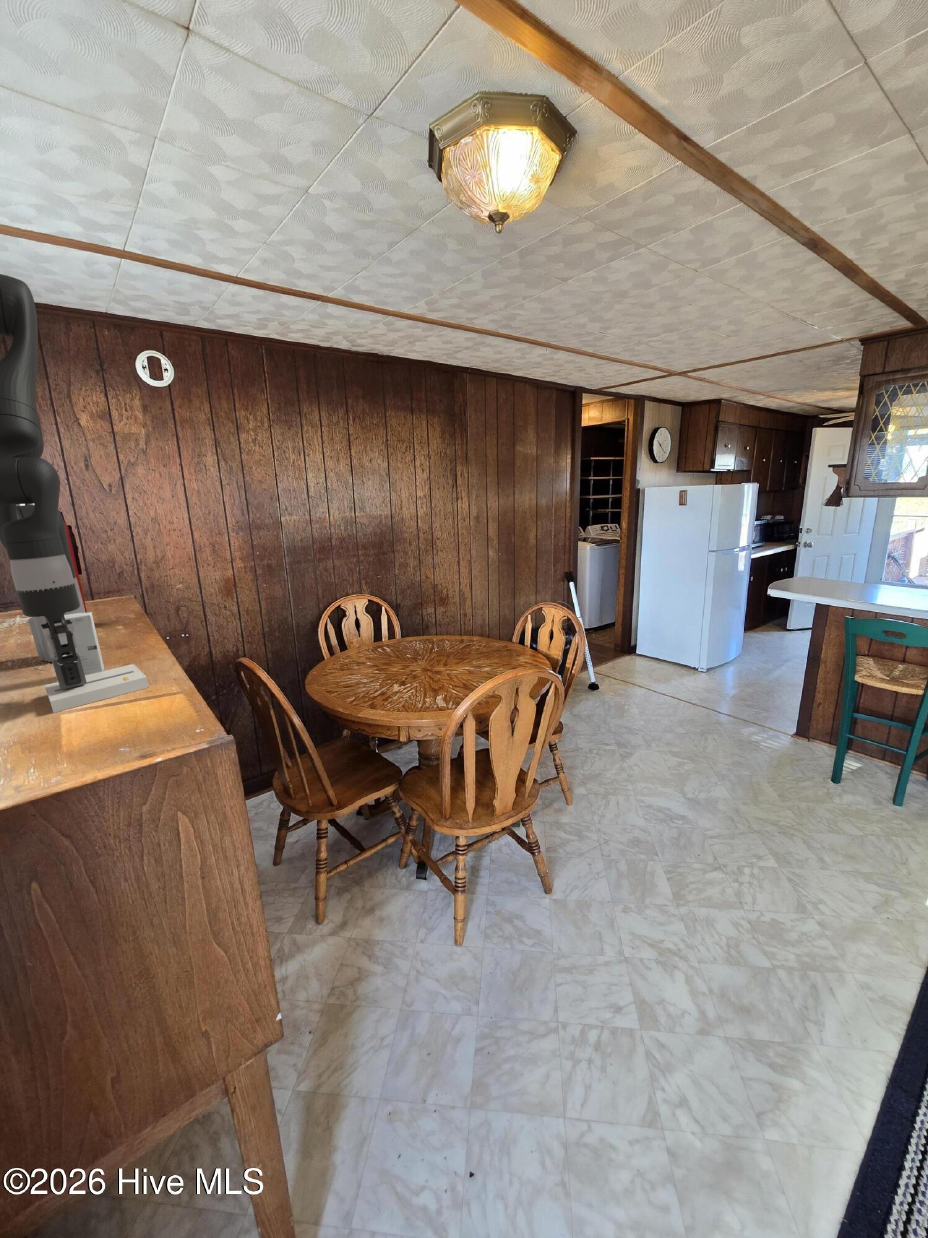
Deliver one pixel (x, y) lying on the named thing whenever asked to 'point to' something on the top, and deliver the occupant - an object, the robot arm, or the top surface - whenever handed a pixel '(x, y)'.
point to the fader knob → (60, 675)
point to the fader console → (97, 687)
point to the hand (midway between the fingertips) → (72, 681)
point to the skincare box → (86, 642)
